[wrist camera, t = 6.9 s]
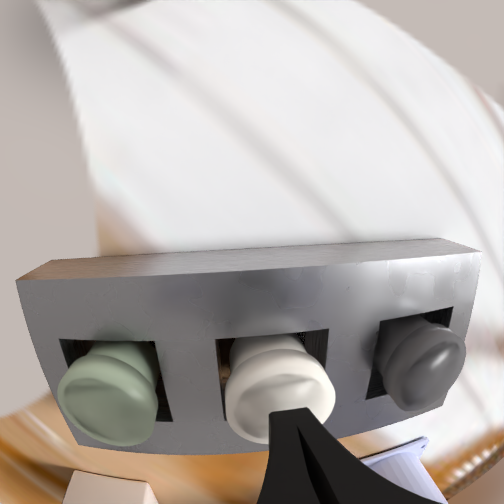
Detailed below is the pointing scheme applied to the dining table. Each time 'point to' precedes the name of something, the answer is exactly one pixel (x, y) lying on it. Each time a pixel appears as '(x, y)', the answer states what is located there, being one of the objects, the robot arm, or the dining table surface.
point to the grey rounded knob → (417, 360)
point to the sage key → (113, 392)
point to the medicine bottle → (106, 490)
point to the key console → (247, 323)
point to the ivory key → (273, 383)
